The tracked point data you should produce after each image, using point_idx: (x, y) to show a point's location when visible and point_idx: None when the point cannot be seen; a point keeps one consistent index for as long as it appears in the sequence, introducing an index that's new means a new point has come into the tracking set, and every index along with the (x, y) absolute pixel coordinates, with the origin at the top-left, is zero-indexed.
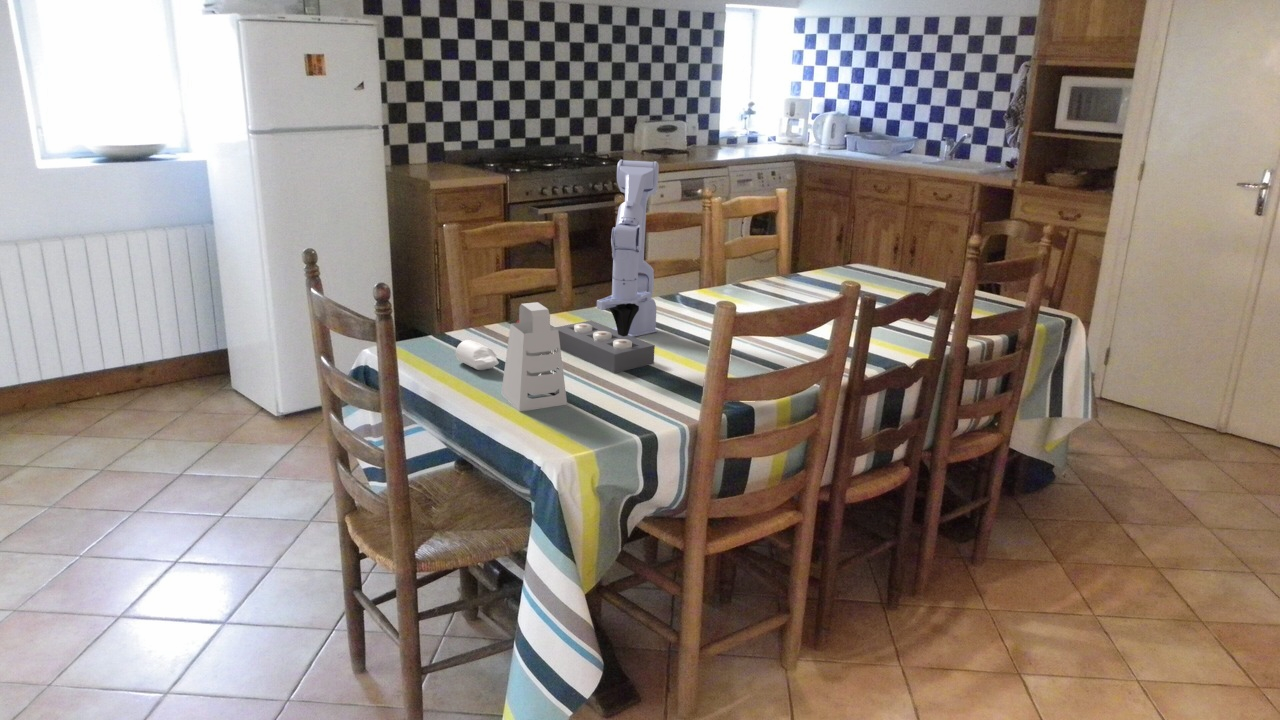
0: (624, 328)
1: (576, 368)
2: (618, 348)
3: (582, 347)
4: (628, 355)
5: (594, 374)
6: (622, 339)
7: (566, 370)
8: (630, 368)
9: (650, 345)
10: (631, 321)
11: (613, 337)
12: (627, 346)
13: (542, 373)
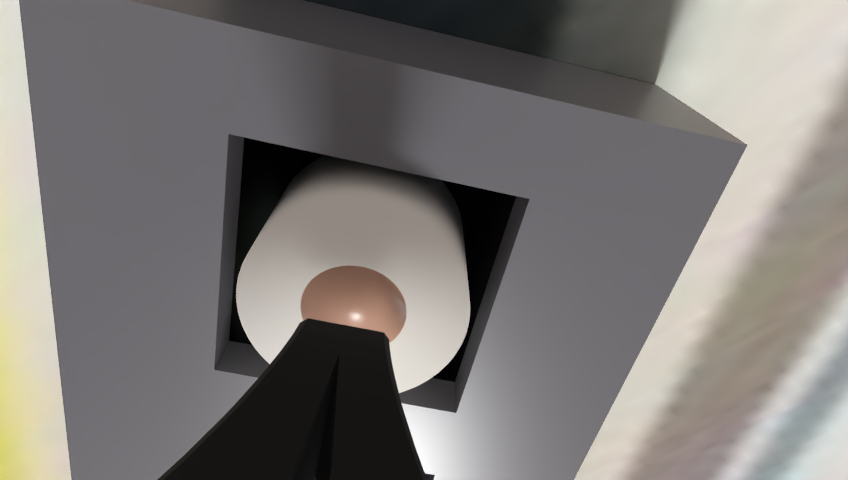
0: (397, 414)
1: (710, 355)
2: (465, 263)
3: None
4: (512, 76)
5: (771, 190)
6: None
7: (786, 374)
8: (461, 39)
9: (81, 17)
10: (198, 478)
11: None
12: (394, 202)
13: None
